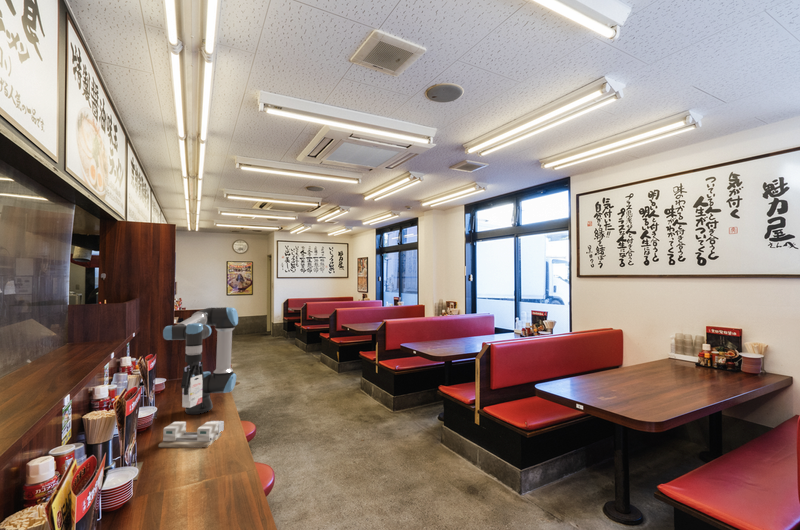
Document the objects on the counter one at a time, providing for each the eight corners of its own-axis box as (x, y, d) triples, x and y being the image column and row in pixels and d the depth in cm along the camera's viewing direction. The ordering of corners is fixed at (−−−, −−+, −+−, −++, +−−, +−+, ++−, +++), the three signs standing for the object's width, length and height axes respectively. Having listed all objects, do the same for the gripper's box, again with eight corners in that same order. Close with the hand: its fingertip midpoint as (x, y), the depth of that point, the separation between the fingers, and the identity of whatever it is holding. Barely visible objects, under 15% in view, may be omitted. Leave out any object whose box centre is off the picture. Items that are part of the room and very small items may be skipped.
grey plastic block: (211, 430, 201) (211, 420, 201) (223, 430, 201) (223, 421, 201) (206, 433, 196) (206, 424, 196) (218, 434, 196) (219, 424, 196)
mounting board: (176, 435, 193) (176, 419, 194) (221, 435, 193) (221, 420, 194) (158, 447, 179) (159, 430, 180) (207, 447, 179) (207, 430, 180)
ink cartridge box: (194, 402, 192) (195, 373, 193) (202, 402, 191) (203, 374, 192) (181, 407, 184) (182, 377, 184) (189, 408, 182) (190, 378, 183)
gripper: (198, 349, 199) (197, 391, 198) (173, 357, 178) (171, 404, 177) (212, 349, 199) (210, 391, 198) (188, 357, 178) (187, 405, 176)
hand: (192, 398), depth 187 cm, fingers closed on ink cartridge box, 9 cm apart
